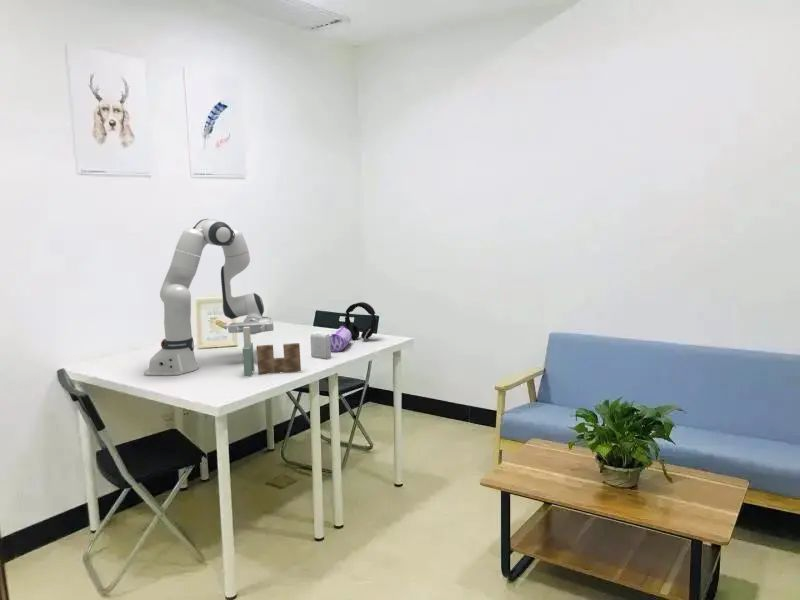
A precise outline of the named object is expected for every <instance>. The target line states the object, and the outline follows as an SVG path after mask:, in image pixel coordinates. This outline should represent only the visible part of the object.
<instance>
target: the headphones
mask: <svg viewBox="0 0 800 600" xmlns="http://www.w3.org/2000/svg"><path fill="white" fill-rule="evenodd" d="M356 308H362V309H364V310H365V311H366V312H367V313H368V315H370V316H371V317H372V320H371V323H370V325H366V327H365V328H364V329H363V330H362V332H361V335H360V330H359V327H358V326H357V325H356V324H354V323H353V324H351V319H350V313H353V311H354V310H355V309H356ZM344 313H345V314H346V315H345V317H344V325H345V326H346V327H345V328H346V329H348V330H349V331H350V332H351V335H352V338H351V340H353V341H355V340H357V339H359V336H360V337H361V338H362V339H363V341H367V340H369V339H370V338H371V337H372V335H373V334H374V331H375V329H376V327H377V319H376V315H375V314H376V311H375V309H374V308H373V306H371V304H369V303H367V302H365V301H363V302H362V301H361V302H357V303H353V304H351V305H349V306H348V307H347V308H346V310H345V312H344Z"/></svg>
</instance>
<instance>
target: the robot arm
mask: <svg viewBox="0 0 800 600" xmlns="http://www.w3.org/2000/svg"><path fill="white" fill-rule="evenodd" d="M208 244H209V245H212V246H217V247H221V248H222V251H223V255H224V265H222V267H221V269H220V281H221V283H220V284H221V294H222V312H223V315H224V317H227V318H228V319H230V320H234V319H237V318H240V317H245V316H246V317H245V319H244V320H243V321H242V322H241V321H240V322H232V323H229V324H228V326H227V328H228V329H227V331H228V333H230V334H234V333H235V334H238V333H239V334H240V333H241V334H242V333H243V327H250V335H257V334H260V333H265V332H273V331H274V329H275V328H274V321H273V320H272V318H271V316H263V314H264V312H265V306H264V303H263V299H262V298H261V296H260V295H259V294H258V293H256V292H252V293H247V294H243V295H239V296H238V295H237V296H232V287H231V280H232V279H233V278H235V276H237V275H239V274H240V273H242V272H244V270H245V269H247V267H249V265H250V262H251V258H250V252H249V248H248V245H247V242H246V239H245V237H244V235H243V233H242V232H241V231H240V230H238V229H235V228H231V226H229V225H228V224H227V223H225V222H224V221H220V220H218V219H217V220H216V219H212V218H210V219H209V218H203V219H201V220H199V221H197V223H196V224H195V225H194V226H193V227H192V228H191V227H190V228H185V229H184V230H183V231H182V233H181V235H180V237H179V239H178V242H177V243H176V246H175V250H174V252H173V256H172V259H171V262H170V265H169V267H168V268H169V269H168V270H167V272H166V275H165V277H164V280H163V283H162V284H161V285H162V286H161V287H160V291H159V297H160V300H161V301H162V303H163V307H164V312H163V313H164V319H163V320H164V321H163V326H164V335H165V336H164V338H163V339H162V340H161V342H160V346H161V348H160V349H159V350H158V351H157V352H156V353H154V355H153V356H152V357H151V358H150V360H149V363H148V364H149V365H148V367H147V368H145V370H144V371H143V375H144V374H145V375H144V376H180V375H183V374H185V373H189V372H193V371H196V370H198V369H199V365H198V363H197V360H196V357H195V351H194V349H195V344H194V343H195V342H194V337H193V336H192V335H193V334H192V333H193V332H192V322H191V321H192V320H191V319H192V317H191V316H192V299H191V298H192V296H191V295H192V294H191V292H190V290H189V289H190V287H191V284H192V282H193V279H194V277H195V276H196V275H197V274H196V273H197V271H198V267H199V264H200V261H201V258H202V253H203V250H204V248H205V247H206V246H207V245H208Z"/></svg>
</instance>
